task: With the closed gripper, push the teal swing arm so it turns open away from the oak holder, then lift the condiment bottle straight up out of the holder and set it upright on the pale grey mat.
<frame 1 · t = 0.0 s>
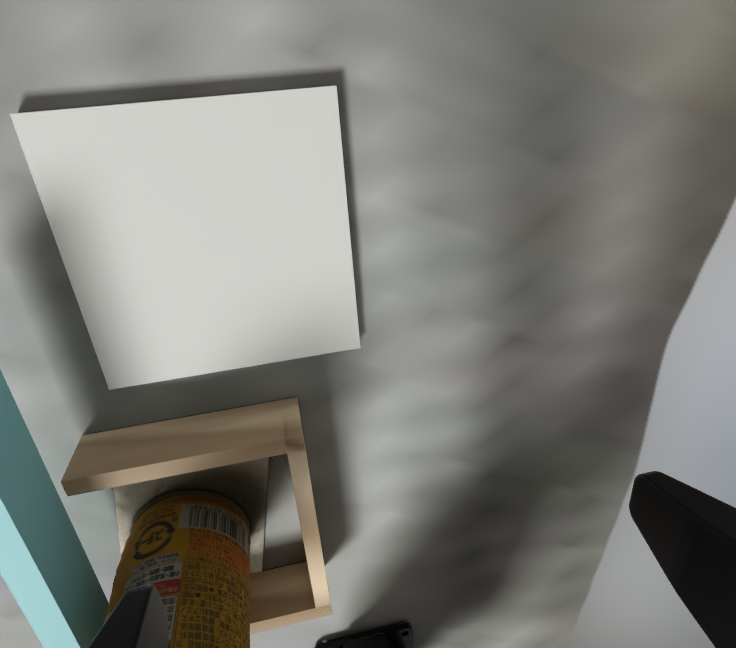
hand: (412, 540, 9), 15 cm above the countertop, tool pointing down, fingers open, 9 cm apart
mat: (214, 245, 21), on the countertop
holder: (211, 511, 27), on the countertop
swing arm: (37, 544, 20), point 4 cm above the countertop, hinge at 0.0°
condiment: (194, 514, 27), on the countertop
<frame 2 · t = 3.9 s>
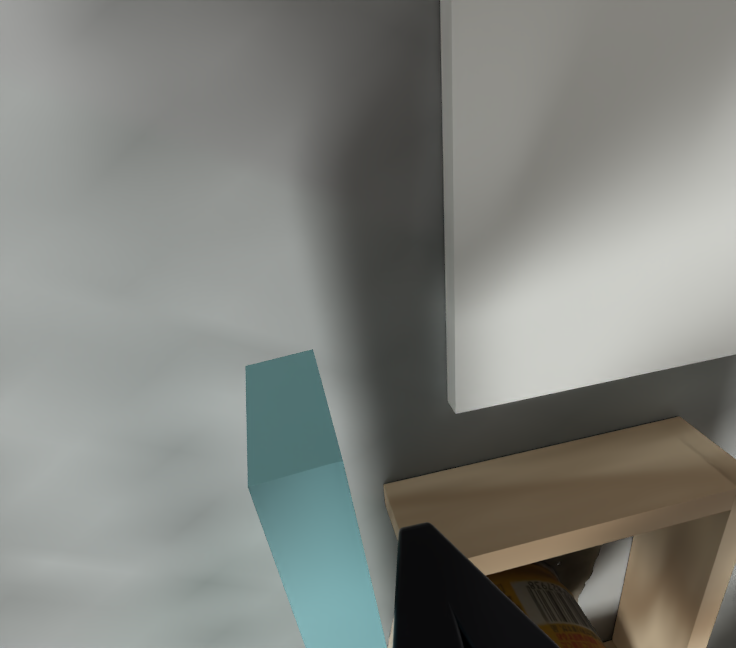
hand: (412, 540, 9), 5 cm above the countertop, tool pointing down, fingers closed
mat: (658, 171, 13), on the countertop
holder: (517, 583, 18), on the countertop
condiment: (489, 587, 19), on the countertop
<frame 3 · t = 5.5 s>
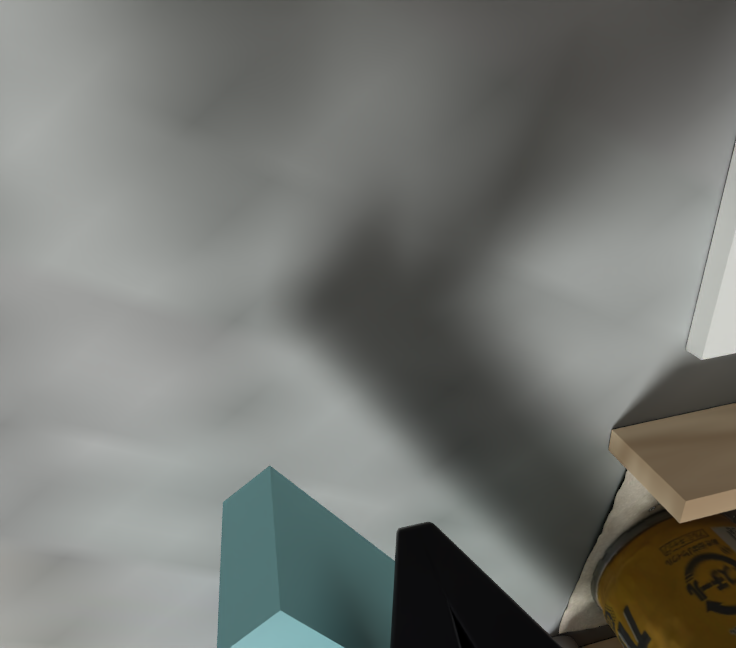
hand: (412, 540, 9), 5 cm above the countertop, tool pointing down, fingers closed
holder: (696, 534, 19), on the countertop
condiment: (667, 538, 19), on the countertop
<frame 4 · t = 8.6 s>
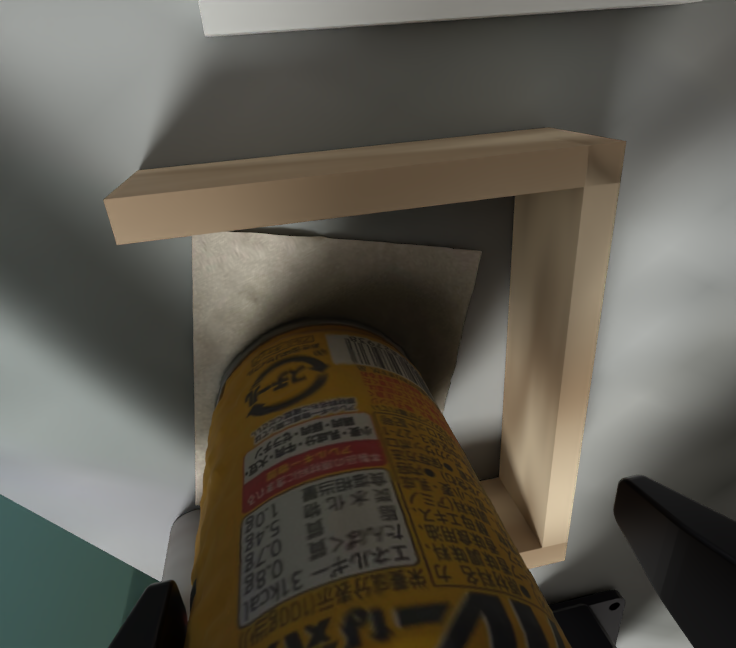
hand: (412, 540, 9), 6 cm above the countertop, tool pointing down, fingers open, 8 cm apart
holder: (359, 369, 15), on the countertop
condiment: (327, 377, 15), on the countertop, touching gripper
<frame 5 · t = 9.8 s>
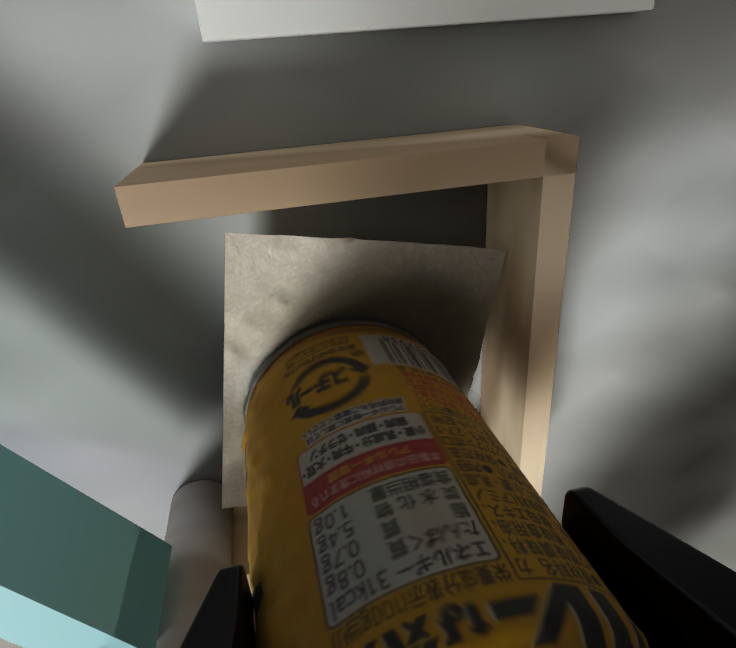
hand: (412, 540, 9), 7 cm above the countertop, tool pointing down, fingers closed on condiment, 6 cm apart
holder: (346, 348, 16), on the countertop
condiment: (352, 377, 15), point 1 cm above the countertop, touching gripper
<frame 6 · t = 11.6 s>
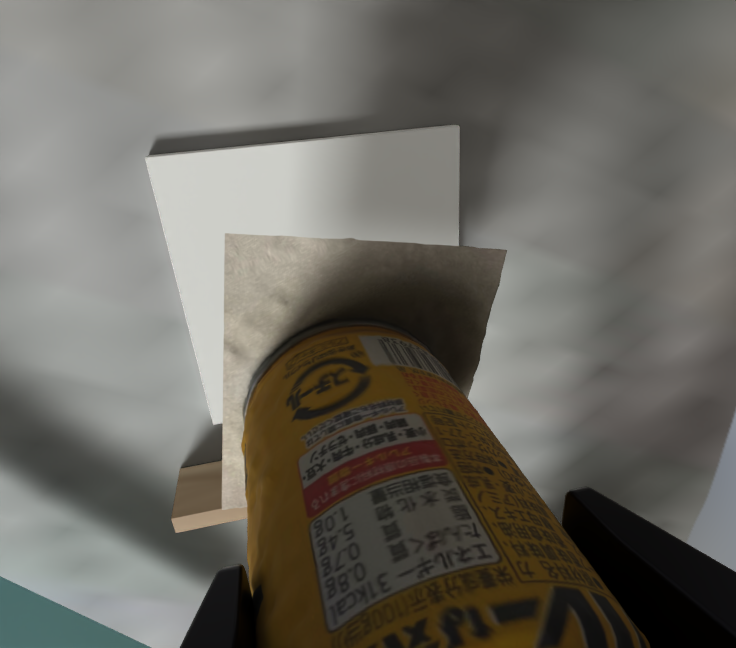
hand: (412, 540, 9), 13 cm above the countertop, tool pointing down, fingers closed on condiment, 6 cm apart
mat: (324, 281, 21), on the countertop
holder: (296, 541, 27), on the countertop
swing arm: (21, 641, 20), point 4 cm above the countertop, hinge at 33.5°
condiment: (352, 378, 15), point 7 cm above the countertop, touching gripper
when the fingers open (8 cm above the countertop, at t = 13.2 s): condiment drops 1 cm, resting on mat.
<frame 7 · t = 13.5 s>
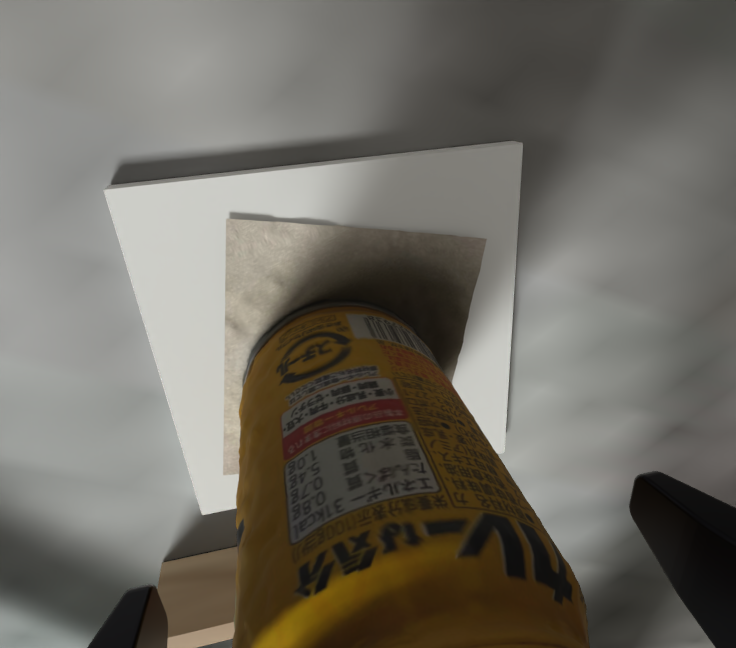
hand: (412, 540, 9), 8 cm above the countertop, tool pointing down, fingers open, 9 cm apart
mat: (342, 339, 16), on the countertop
holder: (305, 634, 22), on the countertop
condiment: (344, 356, 16), resting on mat
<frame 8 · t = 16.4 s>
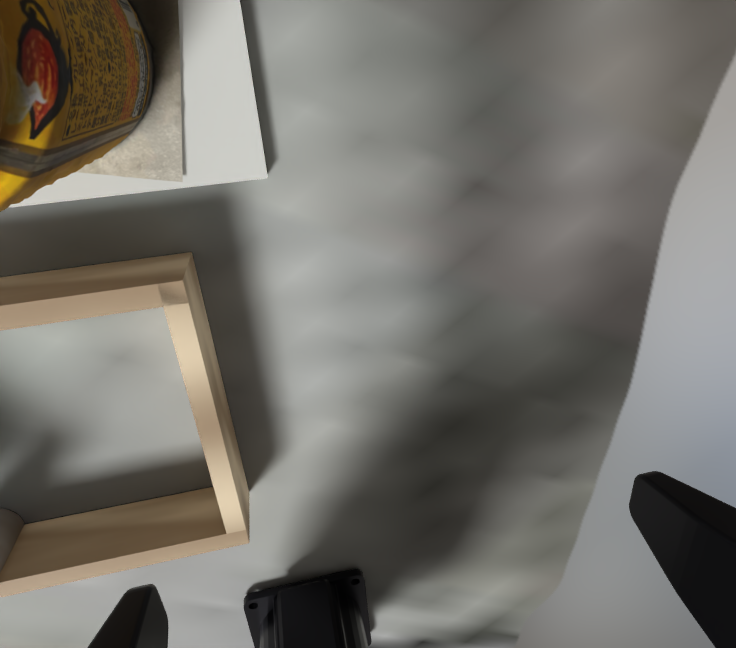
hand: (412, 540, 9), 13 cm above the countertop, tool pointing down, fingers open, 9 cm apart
mat: (51, 7, 15), on the countertop
holder: (92, 409, 21), on the countertop
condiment: (50, 21, 15), resting on mat
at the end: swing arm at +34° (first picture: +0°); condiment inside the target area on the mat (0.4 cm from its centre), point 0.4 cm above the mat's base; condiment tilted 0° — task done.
